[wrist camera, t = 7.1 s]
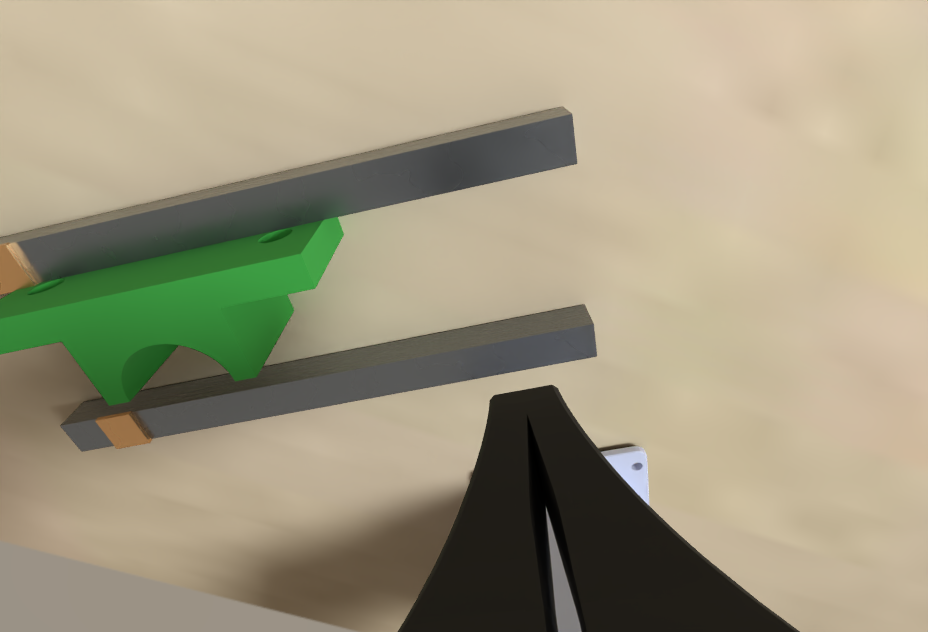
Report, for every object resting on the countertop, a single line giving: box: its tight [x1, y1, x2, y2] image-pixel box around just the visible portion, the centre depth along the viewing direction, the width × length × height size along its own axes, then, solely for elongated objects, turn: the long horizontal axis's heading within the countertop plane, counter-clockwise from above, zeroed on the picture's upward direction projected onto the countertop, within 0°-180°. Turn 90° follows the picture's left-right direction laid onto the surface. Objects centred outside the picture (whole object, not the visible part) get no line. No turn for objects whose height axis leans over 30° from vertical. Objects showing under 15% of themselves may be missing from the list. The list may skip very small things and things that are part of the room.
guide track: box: [0, 107, 597, 451], centre depth 19 cm, size 9×22×2 cm, turn 102°
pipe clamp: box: [0, 217, 344, 406], centre depth 17 cm, size 11×4×5 cm, turn 102°
